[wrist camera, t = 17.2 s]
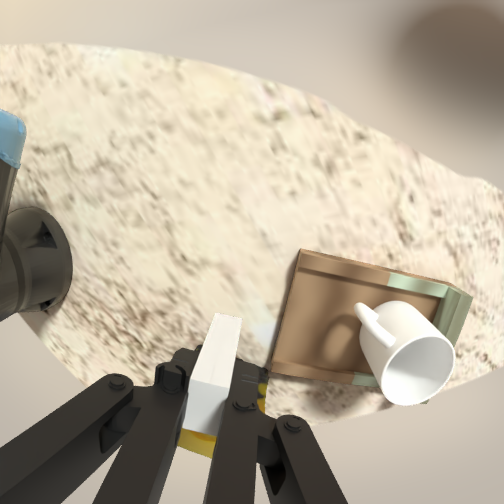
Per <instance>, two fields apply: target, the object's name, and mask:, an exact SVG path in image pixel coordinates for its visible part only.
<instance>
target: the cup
mask: <svg viewBox="0 0 504 504" xmlns="http://www.w3.org/2000/svg"><path fill="white" fill-rule="evenodd" d="M354 311H355V313H356V315H357V316H358V318H359V319H360V321H361V322H362V326H361V329H360V335H359V340H360V345H361V348H362V351H363V353H364V355H365V357H366V359H367V361H368V363H369V365H370V368H371V370H372V372H373V374H374V376H375V378H376V380H377V382H378V384H379V386H380V389H381V391H382V393H383V395H384V396H385V398H386V399H387V400H388V401H390V402H391V403H394V404H396V405H400V406H411V405H415V404H419V403H422V402H424V401H426V400H428V399H430V398H431V397H433V396H434V395H435V394H436V393H438V392H439V391H440V390H441V389H442V388H443V387H444V385H445V384H446V383H447V381H448V380H449V378H450V376H451V374H452V372H453V369H454V365H455V351H454V348H453V346H452V344H451V343H450V341H449V340H448V339H447V338H446V337H445V336H444V335H443V334H442V333H441V332H440V331H439V330H438V329H437V328H436V327H434V326H433V325H432V324H431V323H430V322H429V321H428V320H427V319H426V318H425V317H424V316H423V315H422V314H421V313H420V312H419V311H418V310H417V309H416V308H414V307H413V306H412V305H410V304H408V303H406V302H403V301H389V302H386V303H383V304H381V305H379V306H377V307H376V308H374V309H373V310H371V309H370V308H369V307H368V306H366V305H365V304H363V303H360V302H359V303H356V304H355V305H354Z"/></svg>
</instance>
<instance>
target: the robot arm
mask: <svg viewBox="0 0 504 504" xmlns="http://www.w3.org/2000/svg"><path fill="white" fill-rule="evenodd" d="M25 139H26V126H25V124H24V122H23V121H22V120H21V119H20V118H19V117H17V116H15V115H13V114H11V113H9V112H7V111H4V110H2V109H0V322H1V321H2V320H4V319H6V318H8V317H9V316H11V315H12V314H14V313H16V312H34V311H43V310H46V309H49V308H50V307H52V306H54V305H55V304H57V303H59V302H60V301H61V300H62V299H63V298H64V296H65V295H66V293H67V291H68V289H69V286H70V283H71V278H72V256H71V251H70V247H69V244H68V241H67V238H66V236H65V234H64V232H63V230H62V228H61V226H60V225H59V223H58V222H57V221H56V220H55V219H54V218H53V217H52V216H51V215H50V214H49V213H48V212H46V211H44V210H42V209H40V208H36V207H28V208H22V209H18V210H15V211H13V212H11V213H10V214H8V209H9V204H10V200H11V195H12V190H13V186H14V182H15V178H16V175H17V171H18V169H19V168H20V165H21V164H20V159H21V155H22V151H23V146H24V142H25ZM241 324H242V318H238V317H234V316H229V315H225V314H221V313H217V312H216V313H215V316H214V318H213V321H212V323H211V326H210V329H209V331H208V334H207V336H206V339H205V341H204V344H203V347H202V349H201V352H197V351H193V350H189V349H185V348H181V349H179V350H178V351H176V352H175V354H174V356H173V358H172V359H171V361H170V362H164V363H161V364H159V365H158V366H156V370H155V381H154V385H153V386H148V387H141V386H133V382H132V380H131V379H130V378H128V377H127V376H124V375H122V374H115V373H114V374H108V375H106V376H104V377H102V378H101V379H99V380H98V381H96V382H95V383H94V384H92V385H91V386H89V387H88V388H86V389H85V390H84V391H82V392H81V393H79V394H78V395H77V396H75V397H74V398H72V399H71V400H69V401H68V402H66V403H65V404H64V405H62V406H61V407H60V408H58V409H56V410H55V411H53V412H52V413H50V414H49V415H48V416H46V417H45V418H43V419H42V420H40V421H39V422H38V423H36V424H35V425H33V426H32V427H30V428H29V429H27V430H26V431H24V432H23V433H21V434H20V435H19V436H17V437H15V438H14V439H13V440H11V441H10V442H8V443H7V444H5V445H4V446H2V447H1V448H0V504H61V503H62V502H63V501H64V500H65V499H66V498H67V497H68V496H69V495H70V494H72V493H73V492H74V491H75V490H76V489H77V488H78V487H79V486H80V485H81V484H82V483H83V482H84V481H85V480H86V479H87V478H88V477H89V476H90V475H91V474H92V473H94V472H95V471H96V470H97V469H98V468H99V467H100V466H101V465H102V464H103V463H104V462H105V461H106V460H107V459H108V458H109V457H110V456H111V455H112V454H113V453H114V452H115V451H116V450H117V449H118V448H119V447H120V446H121V445H122V446H121V448H120V450H119V452H118V454H117V456H116V458H115V460H114V462H113V464H112V465H111V467H110V469H109V471H108V473H107V475H106V477H105V479H104V481H103V483H102V485H101V487H100V489H99V491H98V493H97V495H96V497H95V499H94V501H93V503H92V504H158V503H159V500H160V497H161V494H162V490H163V487H164V484H165V481H166V478H167V475H168V472H169V469H170V466H171V463H172V460H173V456H174V454H175V450H176V448H177V444H178V441H179V438H180V434H181V428H184V429H188V430H192V431H196V432H200V433H204V434H209V435H213V436H217V439H216V443H215V447H214V451H213V455H212V456H213V457H212V462H211V467H210V472H209V477H208V481H207V487H206V491H205V496H204V501H203V504H254V496H255V479H256V462H257V463H259V464H260V470H261V473H262V477H263V480H264V484H265V487H266V490H267V494H268V497H269V501H270V504H348V503H347V501H346V499H345V497H344V495H343V493H342V491H341V489H340V487H339V485H338V483H337V481H336V479H335V477H334V475H333V473H332V471H331V469H330V467H329V465H328V463H327V461H326V459H325V457H324V455H323V453H322V451H321V449H320V447H319V445H318V443H317V441H316V439H315V437H314V435H313V432H312V430H311V428H310V426H309V425H308V423H307V422H306V421H305V420H304V419H302V418H301V417H298V416H295V415H282V416H280V417H279V418H278V419H275V418H272V417H270V416H268V415H266V414H264V413H263V412H262V411H261V410H260V409H259V406H258V404H257V395H258V376H259V370H258V369H257V367H256V365H255V364H252V363H247V362H242V361H238V360H235V357H236V351H237V346H238V340H239V335H240V330H241ZM182 425H183V427H182Z"/></svg>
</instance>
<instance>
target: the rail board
mask: <svg viewBox="0 0 504 504" xmlns="http://www.w3.org/2000/svg"><path fill="white" fill-rule="evenodd" d="M472 300H473V297H472V296H470V295H469V294H467V293H465V292H464V291H462V290H461V289H459V288H458V287H456V286H454V285H453V284H451V283H448V282H444V281H440V280H435V279H431V278H427V277H423V276H419V275H414V274H410V273H406V272H402V271H397V270H393V269H389V268H384V267H380V266H376V265H371V264H367V263H363V262H358V261H354V260H349V259H345V258H341V257H336V256H332V255H327V254H323V253H318V252H314V251H309V250H305V249H300V252H299V256H298V260H297V264H296V268H295V272H294V276H293V280H292V284H291V288H290V292H289V296H288V300H287V304H286V308H285V311H284V315H283V319H282V323H281V327H280V330H279V334H278V338H277V341H276V345H275V349H274V352H273V356H272V359H271V372H275V373H280V374H286V375H291V376H297V377H303V378H309V379H316V380H322V381H329V382H336V383H344V384H352V385H360V386H369V387H378V388H380V386H379V384H378V382H377V380H376V378H375V376H374V374H373V372H372V370H371V368H370V365H369V363H368V361H367V359H366V357H365V355H364V353H363V351H362V348H361V345H360V340H359V335H360V329H361V326H362V322H361V321H360V319H359V318H358V316H357V315H356V313H355V311H354V305H355V304H356V303H359V302H360V303H363V304H365V305H366V306H368V307H369V308H370V309H371V310H373V309H374V308H376V307H377V306H379V305H381V304H383V303H386V302H389V301H403V302H406V303H408V304H410V305H412V306H413V307H414V308H416V309H417V310H418V311H419V312H420V313H421V314H422V315H423V316H424V317H425V318H426V319H427V320H428V321H429V322H430V323H431V324H432V325H433V326H434V327H436V328H437V329H438V330H439V331H440V332H441V333H442V334H443V335H444V336H445V337H446V338H447V339H448V340H449V341H450V343H451V344H452V346H453V348H454V346H455V344H456V342H457V339H458V337H459V334H460V332H461V329H462V327H463V324H464V322H465V319H466V316H467V314H468V311H469V308H470V305H471V302H472ZM428 400H429V399H428ZM428 400H426V401H424V402H422V403H420V404H427V402H428Z"/></svg>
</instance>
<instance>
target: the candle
mask: <svg viewBox="0 0 504 504" xmlns="http://www.w3.org/2000/svg"><path fill="white" fill-rule="evenodd" d="M202 347H203V345H198V346H197V348H196V350H195V351H197V352H201V349H202ZM235 360H238V361H242V362H244V361H243V360H242V359H238V358H235ZM247 363H248V362H247ZM256 367H257V369H258V370H259V376H258V395H257V404H258V406H259V409H260V410H261V411H262V412H263V413H264V414H265V398H266V389H267V385H268V380H269V377H268V370H267V369H266V368H261V367H259V366H257V365H256ZM182 427H183V425H182ZM216 439H217V436H213V435H209V434H204V433H200V432H196V431H192V430H188V429H184V428H181V434H180V438H179V441H178V444H177V446H180V447H182V448H184V449H187V450H189V451H192V452H195V453H198V454H201V455H204V456H207V457H209V458H212V457H213V456H212V455H213V451H214V447H215V443H216Z"/></svg>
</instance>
